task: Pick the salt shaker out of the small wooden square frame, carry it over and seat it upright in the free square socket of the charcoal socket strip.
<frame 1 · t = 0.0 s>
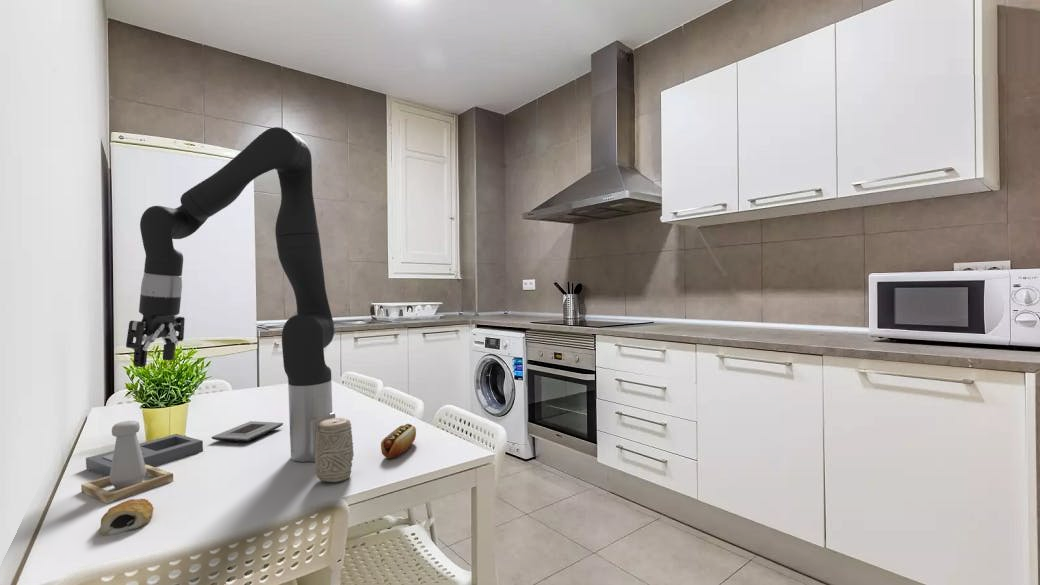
hand: (154, 363, 110), 22 cm above the table, tool pointing down, fingers open, 8 cm apart
salt shaker: (128, 487, 96), resting in wooden square frame
wooden square frame: (128, 486, 96), on the table
pastry: (127, 524, 81), on the table
carving: (335, 480, 97), on the table
socket strip: (147, 459, 110), on the table
electrical outlet: (249, 438, 126), on the table
hot dog: (400, 452, 112), on the table
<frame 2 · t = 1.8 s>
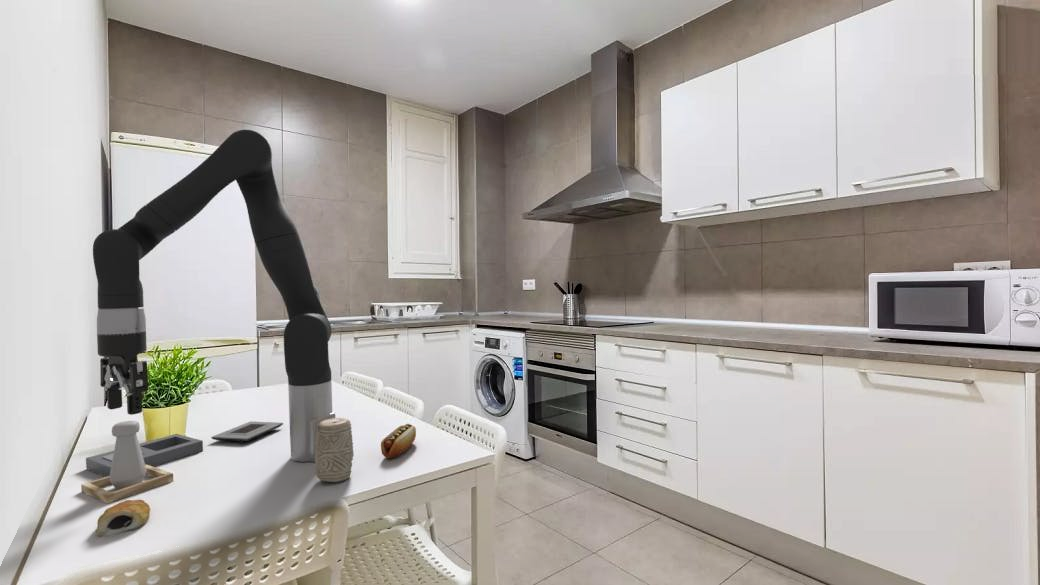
hand: (124, 411, 95), 15 cm above the table, tool pointing down, fingers open, 8 cm apart
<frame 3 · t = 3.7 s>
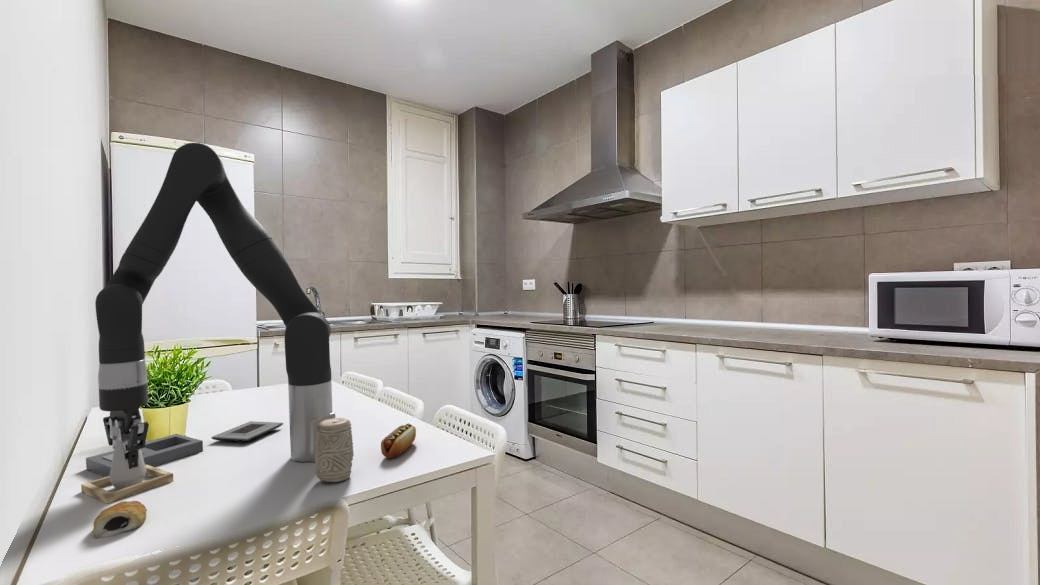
hand: (127, 468, 95), 4 cm above the table, tool pointing down, fingers closed on salt shaker, 3 cm apart
salt shaker: (128, 487, 96), resting in wooden square frame, touching gripper
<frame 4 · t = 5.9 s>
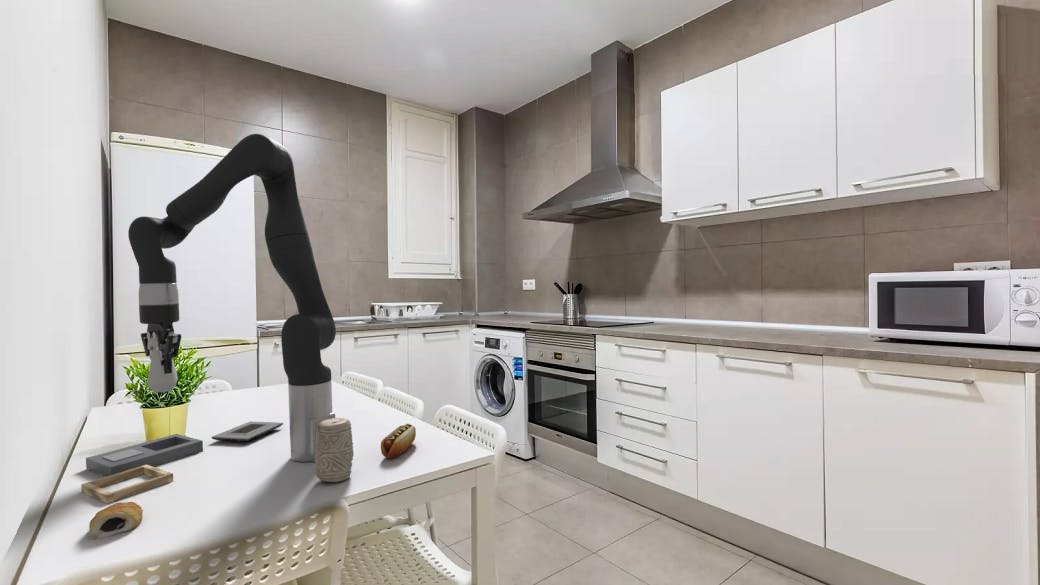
hand: (162, 374, 113), 19 cm above the table, tool pointing down, fingers closed on salt shaker, 3 cm apart
salt shaker: (163, 391, 113), point 15 cm above the table, touching gripper
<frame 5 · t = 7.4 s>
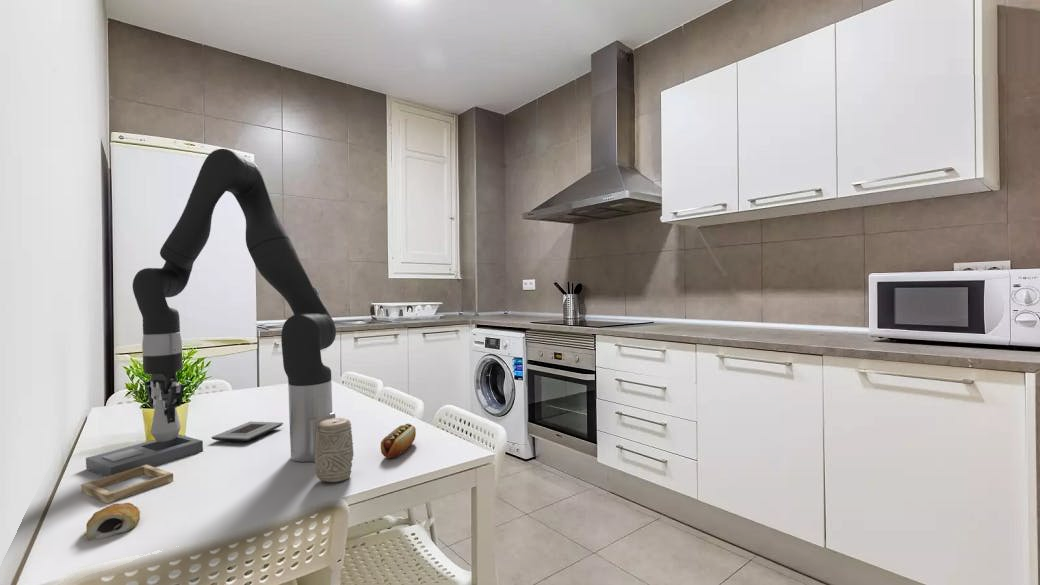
hand: (165, 423, 113), 7 cm above the table, tool pointing down, fingers closed on salt shaker, 3 cm apart
salt shaker: (166, 439, 113), point 3 cm above the table, touching gripper
when the fingers open (5 cm above the table, at t = 8.6 s): salt shaker stays where it is, resting in socket strip.
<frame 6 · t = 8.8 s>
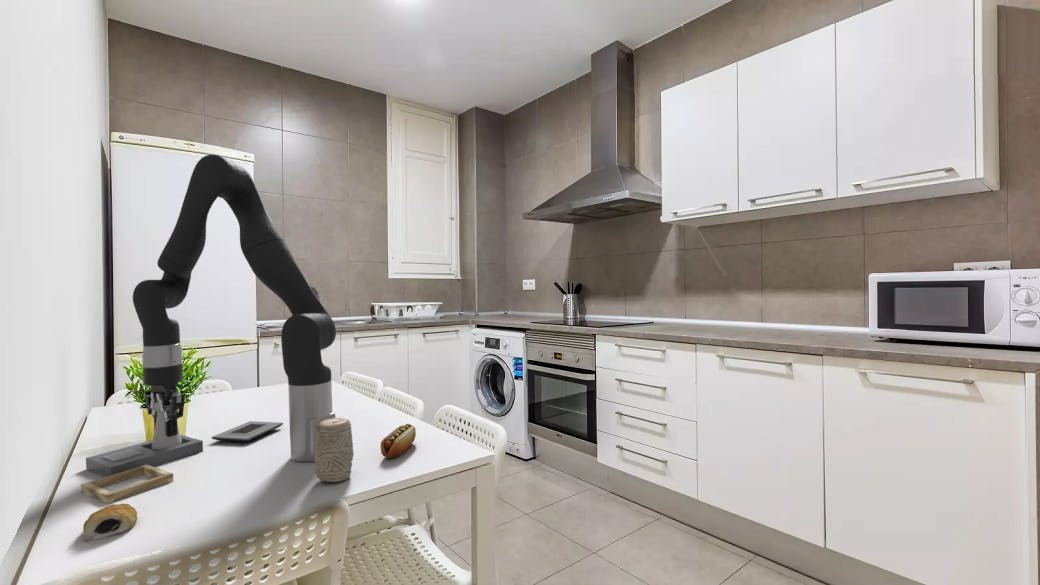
hand: (166, 433, 113), 5 cm above the table, tool pointing down, fingers open, 4 cm apart
salt shaker: (167, 454, 113), resting in socket strip
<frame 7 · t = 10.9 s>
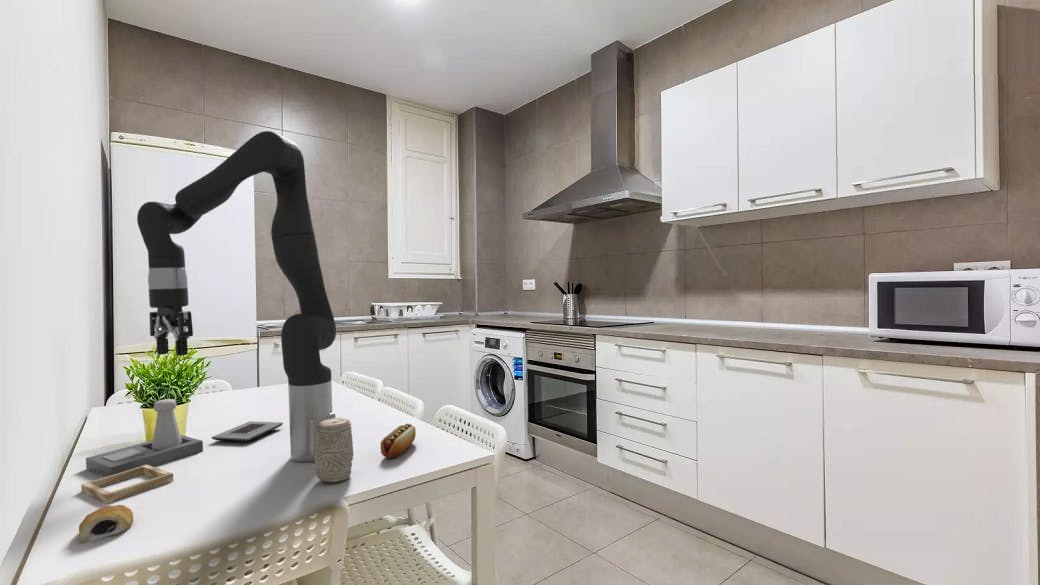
hand: (172, 354, 114), 24 cm above the table, tool pointing down, fingers open, 8 cm apart
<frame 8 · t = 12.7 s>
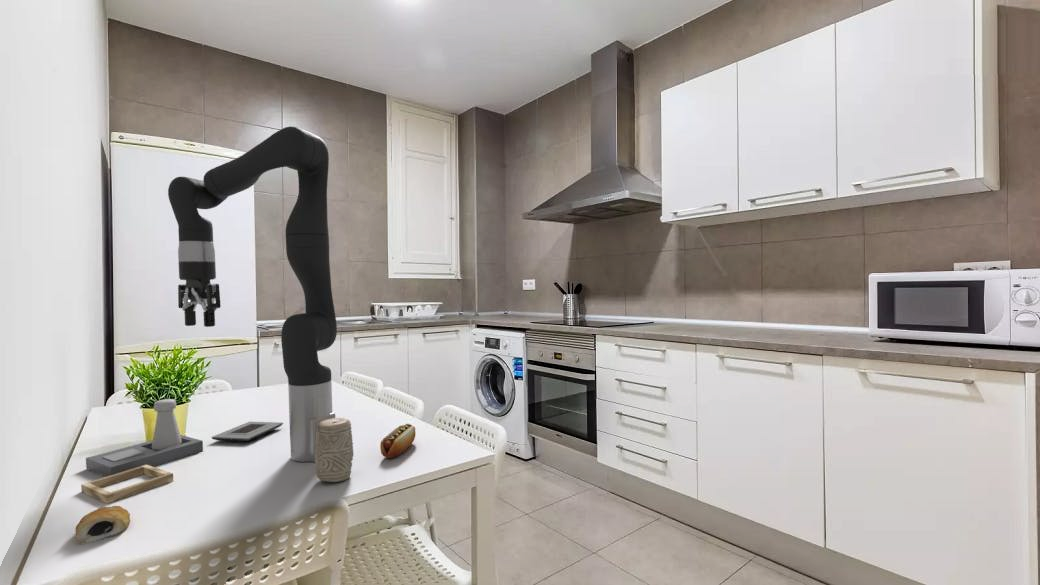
hand: (199, 326, 117), 30 cm above the table, tool pointing down, fingers open, 8 cm apart
at the end: salt shaker 0.2 cm from the target spot on the socket strip, point 0.0 cm above the socket strip's base; salt shaker tilted 0°; the gripper is holding nothing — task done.
